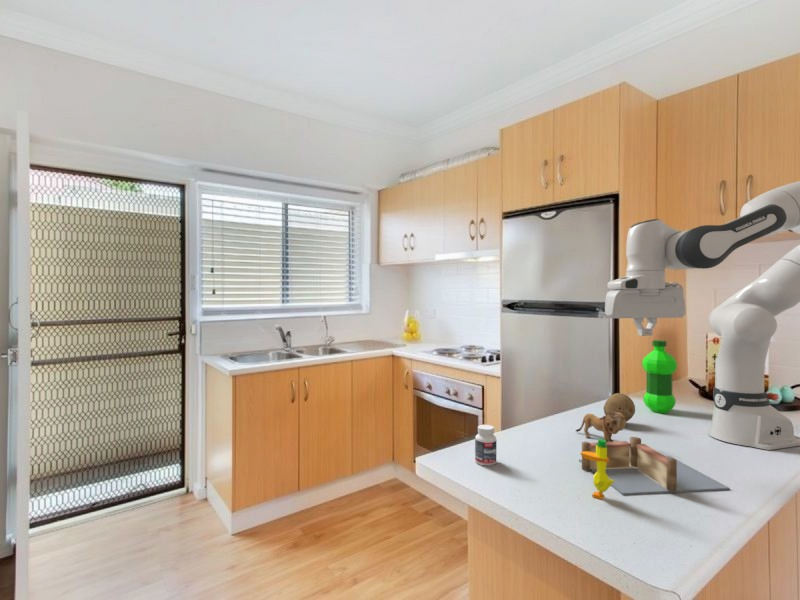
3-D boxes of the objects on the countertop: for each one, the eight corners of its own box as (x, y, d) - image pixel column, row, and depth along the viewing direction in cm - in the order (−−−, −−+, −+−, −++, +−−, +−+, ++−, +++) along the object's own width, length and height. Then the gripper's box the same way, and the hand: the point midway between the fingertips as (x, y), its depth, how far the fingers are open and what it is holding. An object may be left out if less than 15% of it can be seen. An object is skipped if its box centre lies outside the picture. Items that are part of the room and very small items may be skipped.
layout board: (669, 457, 109) (669, 455, 109) (729, 489, 91) (729, 487, 91) (579, 461, 107) (579, 459, 107) (622, 495, 89) (622, 492, 89)
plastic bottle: (640, 411, 150) (640, 341, 150) (646, 405, 158) (646, 338, 158) (673, 416, 144) (673, 343, 143) (678, 410, 152) (678, 340, 151)
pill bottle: (484, 467, 103) (483, 431, 103) (471, 460, 108) (470, 425, 108) (500, 463, 106) (500, 428, 106) (487, 456, 110) (487, 422, 110)
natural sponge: (637, 430, 130) (637, 397, 130) (605, 427, 133) (605, 395, 133) (632, 421, 139) (632, 391, 139) (602, 419, 142) (602, 389, 142)
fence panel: (636, 467, 101) (636, 441, 101) (644, 467, 101) (644, 440, 101) (669, 491, 89) (670, 461, 89) (678, 491, 89) (678, 460, 89)
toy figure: (578, 494, 89) (578, 437, 89) (583, 488, 92) (583, 433, 92) (612, 504, 85) (612, 445, 85) (617, 498, 88) (617, 440, 87)
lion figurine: (629, 444, 118) (629, 412, 118) (620, 448, 115) (620, 415, 115) (580, 431, 130) (580, 401, 130) (570, 434, 127) (570, 404, 127)
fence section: (637, 465, 104) (637, 436, 104) (643, 469, 102) (643, 440, 102) (579, 467, 103) (579, 438, 103) (584, 471, 100) (584, 442, 100)
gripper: (674, 282, 115) (673, 333, 115) (601, 283, 113) (601, 334, 113) (692, 281, 108) (691, 336, 109) (615, 282, 107) (615, 337, 107)
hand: (645, 335), depth 111 cm, fingers closed
